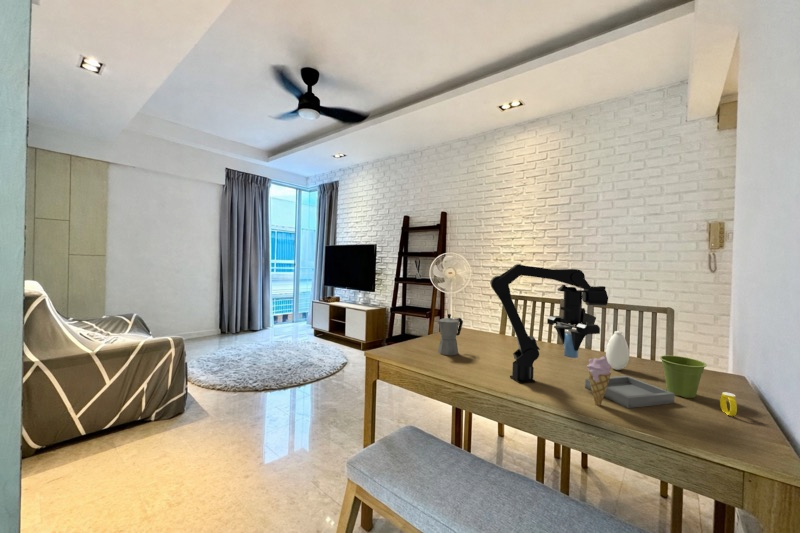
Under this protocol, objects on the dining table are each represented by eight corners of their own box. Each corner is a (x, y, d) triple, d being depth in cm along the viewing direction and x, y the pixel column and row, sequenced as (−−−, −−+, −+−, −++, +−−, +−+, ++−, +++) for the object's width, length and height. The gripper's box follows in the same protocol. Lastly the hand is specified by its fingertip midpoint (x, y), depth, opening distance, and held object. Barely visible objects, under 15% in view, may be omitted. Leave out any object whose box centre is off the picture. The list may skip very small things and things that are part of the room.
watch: (739, 420, 92) (741, 399, 92) (726, 418, 94) (728, 398, 93) (728, 410, 98) (730, 390, 97) (716, 408, 99) (717, 389, 99)
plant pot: (650, 390, 113) (651, 357, 113) (671, 385, 117) (672, 354, 117) (692, 404, 102) (694, 367, 102) (713, 398, 107) (714, 363, 106)
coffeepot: (444, 357, 145) (445, 316, 145) (430, 352, 153) (431, 313, 152) (468, 352, 154) (470, 314, 154) (454, 347, 162) (455, 311, 161)
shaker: (570, 358, 114) (571, 331, 113) (561, 354, 118) (561, 328, 118) (580, 357, 115) (581, 331, 115) (571, 354, 119) (572, 328, 119)
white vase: (628, 368, 135) (629, 324, 135) (629, 374, 129) (630, 328, 128) (605, 365, 140) (607, 322, 139) (605, 370, 133) (607, 325, 133)
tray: (627, 408, 98) (628, 398, 98) (585, 387, 113) (585, 379, 113) (674, 403, 102) (674, 393, 102) (626, 384, 118) (627, 375, 118)
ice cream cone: (609, 411, 95) (611, 360, 95) (584, 406, 99) (586, 356, 98) (609, 403, 101) (611, 354, 101) (586, 398, 104) (587, 351, 104)
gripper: (614, 308, 109) (612, 355, 109) (571, 301, 127) (570, 341, 127) (586, 308, 106) (584, 357, 106) (546, 301, 124) (545, 342, 125)
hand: (571, 348), depth 116 cm, fingers closed on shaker, 4 cm apart
